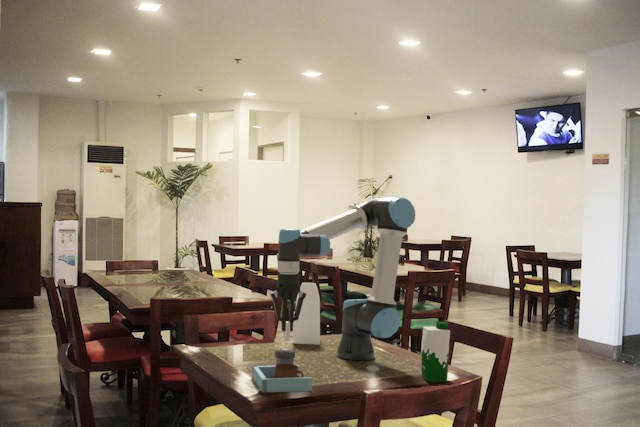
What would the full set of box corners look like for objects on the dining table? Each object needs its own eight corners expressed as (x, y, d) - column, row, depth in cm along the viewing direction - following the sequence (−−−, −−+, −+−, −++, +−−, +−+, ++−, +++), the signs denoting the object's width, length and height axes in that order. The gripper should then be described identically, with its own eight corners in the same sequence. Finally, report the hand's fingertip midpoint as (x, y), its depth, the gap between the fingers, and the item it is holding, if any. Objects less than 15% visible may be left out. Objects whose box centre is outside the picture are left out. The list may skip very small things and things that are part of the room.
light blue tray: (293, 372, 224) (294, 355, 224) (311, 390, 200) (312, 371, 200) (248, 373, 219) (249, 355, 219) (262, 392, 196) (262, 373, 196)
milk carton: (450, 382, 218) (452, 324, 218) (424, 382, 217) (426, 324, 217) (443, 376, 226) (445, 320, 226) (418, 376, 226) (420, 320, 226)
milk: (292, 343, 275) (295, 283, 276) (293, 338, 287) (295, 281, 287) (320, 344, 275) (322, 284, 276) (319, 339, 287) (322, 282, 287)
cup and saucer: (305, 381, 212) (306, 363, 212) (302, 391, 200) (303, 371, 200) (270, 379, 213) (270, 361, 213) (264, 388, 201) (265, 369, 201)
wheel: (292, 363, 224) (292, 347, 224) (296, 368, 218) (297, 351, 218) (272, 363, 222) (273, 347, 223) (276, 368, 216) (277, 351, 216)
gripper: (272, 274, 215) (270, 343, 215) (309, 274, 219) (307, 342, 219) (268, 272, 222) (266, 338, 222) (303, 272, 226) (302, 337, 226)
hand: (286, 340), depth 220 cm, fingers closed
